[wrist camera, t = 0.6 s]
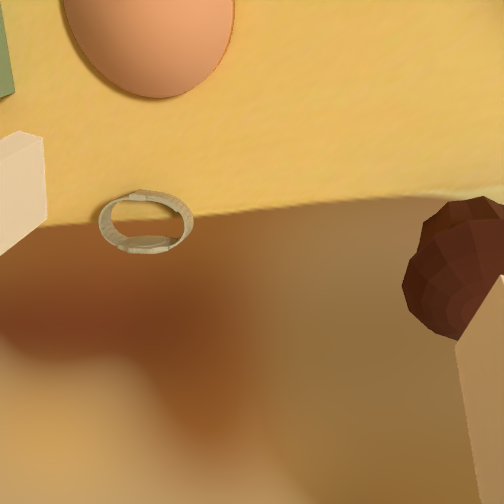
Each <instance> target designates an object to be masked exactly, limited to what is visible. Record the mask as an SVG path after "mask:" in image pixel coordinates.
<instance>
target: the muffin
mask: <svg viewBox="0 0 504 504" xmlns="http://www.w3.org/2000/svg"><path fill="white" fill-rule="evenodd" d="M500 275H504V205H501V204H498V203H496V202H494V201H492V200H490V199H488V198H487V197H485V196H481V197H477V198H473V199H469V200H463V201H451V202H447V204H445V206H443V207H442V209H440V210H439V211H438V212H437V213H436V214H435V215H433V216H432V217H430V218H429V219H428V220H426V221H425V222H423V227H422V232H421V237H420V243H419V246H418V249H417V253H416V254H415V255H414V256H413V257H412V258H411V259H410V260H409V264H408V267H407V270H406V274H405V277H404V280H403V283H402V289H403V292H404V295H405V299H406V302H407V306H408V309H409V311H410V312H411V313H412V314H413V315H414V316H415V317H416V318H418V319H419V320H420V321H421V322H422V323H423V324H424V325H425V326H426V327H427V328H428V329H430V330H432V331H433V332H434V333H436V334H439V335H442V336H446V337H448V338H451V339H454V340H457V341H459V339H460V337H461V336H462V334H463V333H464V331H465V330H466V328H467V326H468V325H469V323H470V322H471V320H472V318H473V317H474V315H475V314H476V312H477V311H478V309H479V307H480V306H481V304H482V303H483V301H484V300H485V298H486V296H487V295H488V293H489V292H490V290H491V289H492V287H493V285H494V284H495V282H496V281H497V279H498V278H499V276H500Z"/></svg>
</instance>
